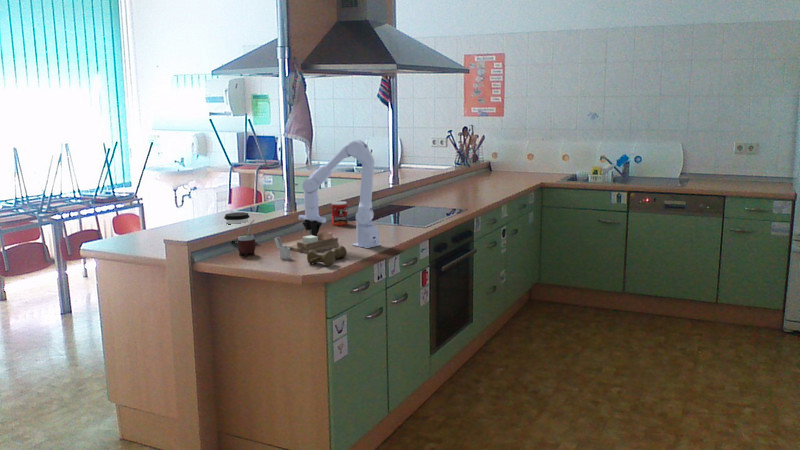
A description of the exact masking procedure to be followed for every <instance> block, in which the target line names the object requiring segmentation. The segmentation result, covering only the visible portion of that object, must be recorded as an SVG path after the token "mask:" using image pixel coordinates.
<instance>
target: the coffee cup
mask: <svg viewBox="0 0 800 450" xmlns="http://www.w3.org/2000/svg"><path fill="white" fill-rule="evenodd" d="M223 219H224V220H225V221H226V225H227V224H228V225H231V224H241V223H246V222H248V223H249V219H250V215H249V213H248V212H244V211H243V212H240V211H239V212H229V213H225V215H224V218H223Z"/></svg>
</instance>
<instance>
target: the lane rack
mask: <svg viewBox="0 0 800 450" xmlns="http://www.w3.org/2000/svg"><path fill="white" fill-rule="evenodd" d="M281 243H282V242H281ZM282 245H287V248H290V251H294V252H298V253H301V254H308V252H309V251H310V250H315V251H317V252H319V250H320V251H324V249H325V250H329V249H333V248H337V247H338V246H340V244H339V238H338V237H335V236H333V239H328V240H324V241H321V240H318V242H314V243H309V244H306V243H303V241H302V239H297V240H291V241H288V242H283V243H282Z"/></svg>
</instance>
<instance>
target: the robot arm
mask: <svg viewBox="0 0 800 450" xmlns="http://www.w3.org/2000/svg"><path fill="white" fill-rule="evenodd" d="M350 157H352V158H354V159H356V160H357V161H358V162H360V164H361V179H360V189H359V190H360V193H359V204H358V208H357V209H358V210H357V212H356V214H355V221H356V224H355V225H356V227H355V228H356V243H352V246H356V247H360V248H364V249H365V248H366V249H370V248H374V247H380V246H382V244H381V243H380V230H379V228H378V226H375V225H374V222H373V219H374V216H375V212H374V211H373V202H372V198H373V197H372V196H373V183H374V182H373V181H374V171H375V170H374V168H375V167H374V166H375V159H374V157H373V153H371V151H370V149H369V146H368V145H367V144H366V143H365V142H364V141H363V140H361V139H356V140H353V141H351V142H349V143H348V144H347V145H346V146H344V147H342V148H341V149H340V150H339V151H338V152H337V153H336V154H335V155H334V156H333V157H332V158H331V159H330V160H329V161H328V162H327V163H326V164H322V165H317V167H316V170H314V172H312V173H310V174H309V175H308V178H306V179H304V180H303V182H302V184H301V185H302V186H301V187H302V189H303V193H304V195H303V197H304V213H305V214H299V215H298V220H299V221H302V225H303V227H304V228H305V230H306V232H307V230H312V236H317V233H319V231H320V228H321V226H322V224H326V223H327V218H326V217H323V216H321V215H320V214H319V213H320V211H319V194H318V193H319V192H318V190H319V188H320V186H322V184H323V183H325V182H326V180H327V179H328V178H330V177H331V176H332V170H333V169H334V168H336V166H338V165H339V164H340V163H341V162H343V160H345V159H347V158H350Z"/></svg>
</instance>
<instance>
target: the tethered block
mask: <svg viewBox="0 0 800 450" xmlns="http://www.w3.org/2000/svg"><path fill="white" fill-rule="evenodd" d="M310 235H312V230H307V231H306V236H310ZM317 237H318V240H321V241H324V240H328V239H333V237H334V236H333V232H329V231H323V232H318V233H317Z"/></svg>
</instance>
